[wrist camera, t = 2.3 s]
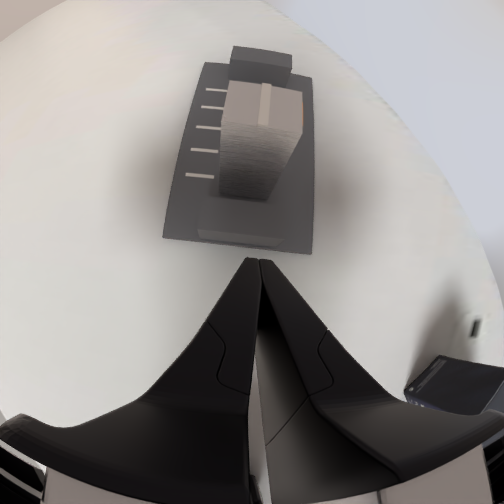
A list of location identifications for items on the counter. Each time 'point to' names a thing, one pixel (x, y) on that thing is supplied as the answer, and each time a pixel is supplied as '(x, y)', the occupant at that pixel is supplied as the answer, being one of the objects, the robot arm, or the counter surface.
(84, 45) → the counter surface
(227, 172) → the fader tab
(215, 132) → the fader panel
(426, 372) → the small box
